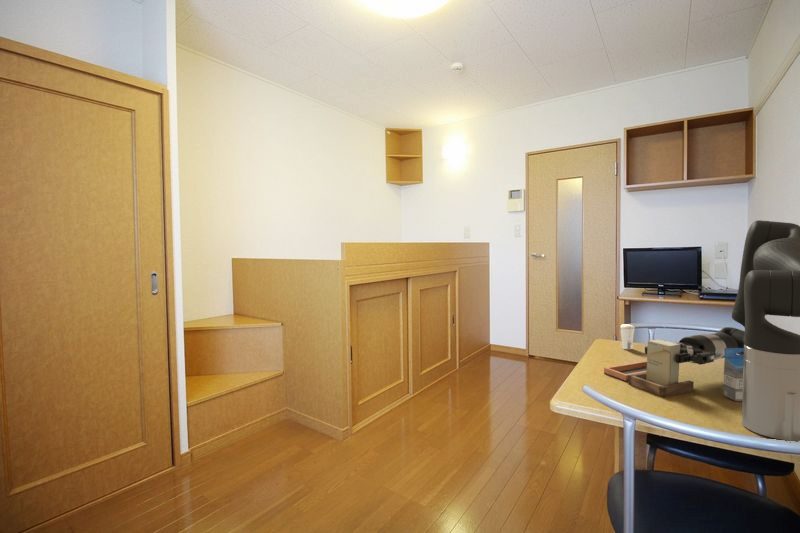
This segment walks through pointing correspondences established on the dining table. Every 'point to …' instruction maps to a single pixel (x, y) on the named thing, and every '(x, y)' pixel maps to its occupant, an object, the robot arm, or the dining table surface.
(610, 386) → the dining table surface
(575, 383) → the dining table surface
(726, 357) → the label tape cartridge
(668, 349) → the skincare box
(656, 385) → the walled bay
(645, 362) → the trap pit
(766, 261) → the robot arm
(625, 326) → the milkshake
